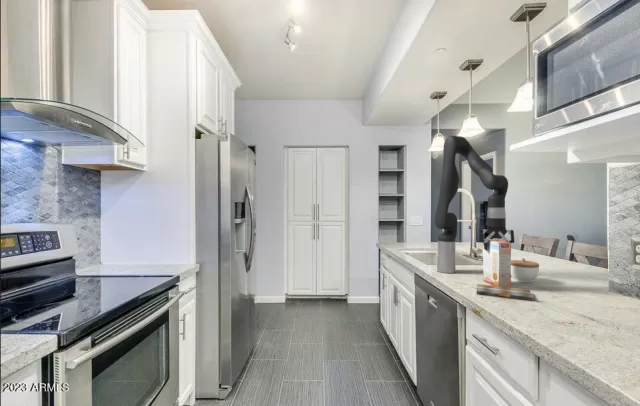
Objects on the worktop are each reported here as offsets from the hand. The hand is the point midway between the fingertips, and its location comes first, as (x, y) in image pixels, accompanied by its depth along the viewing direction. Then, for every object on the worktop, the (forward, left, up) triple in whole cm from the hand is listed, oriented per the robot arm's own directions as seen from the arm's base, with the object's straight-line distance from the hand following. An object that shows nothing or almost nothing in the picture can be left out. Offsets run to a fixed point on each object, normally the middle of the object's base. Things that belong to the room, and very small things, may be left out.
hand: (496, 251), depth 146 cm
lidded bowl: (+12, +14, -16) cm, 24 cm away
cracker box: (0, 0, -16) cm, 16 cm away
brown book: (+2, -16, -16) cm, 22 cm away
